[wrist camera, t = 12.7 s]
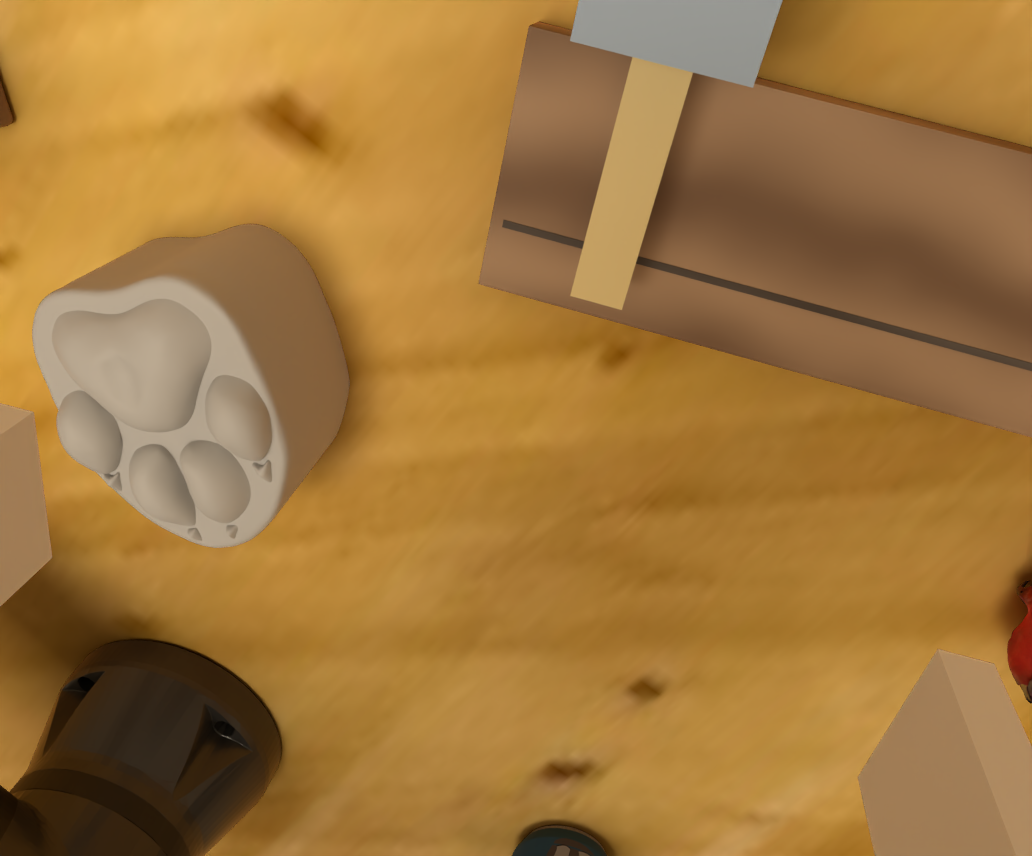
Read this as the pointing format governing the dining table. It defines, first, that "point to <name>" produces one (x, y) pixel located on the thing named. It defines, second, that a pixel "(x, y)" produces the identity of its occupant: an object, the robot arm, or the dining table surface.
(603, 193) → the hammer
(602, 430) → the dining table surface
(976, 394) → the board
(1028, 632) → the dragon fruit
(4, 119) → the wooden block
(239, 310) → the paw mold
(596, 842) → the soda can
